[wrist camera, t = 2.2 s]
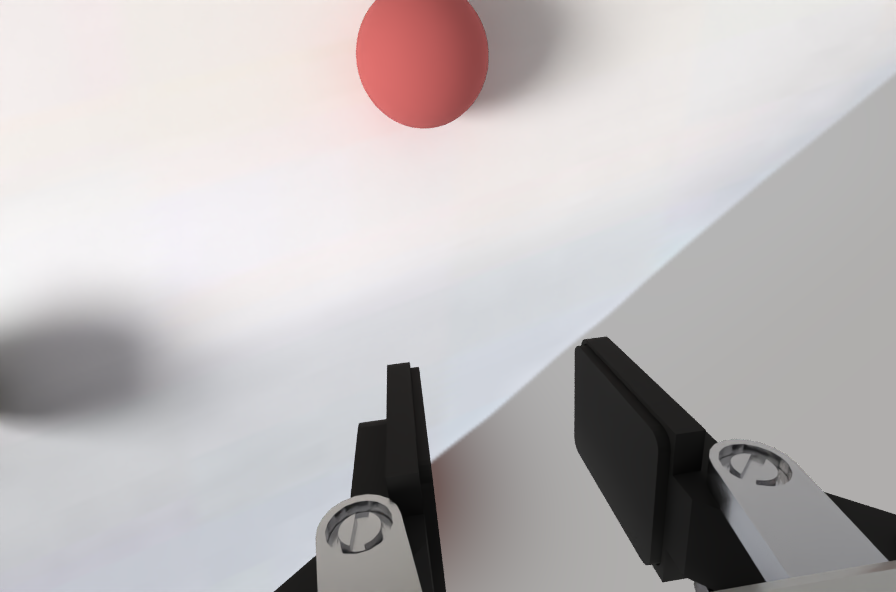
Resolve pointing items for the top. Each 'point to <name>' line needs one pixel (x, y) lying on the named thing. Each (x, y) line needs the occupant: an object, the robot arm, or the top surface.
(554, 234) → the top surface
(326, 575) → the robot arm
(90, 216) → the top surface
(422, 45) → the ball
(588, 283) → the top surface
